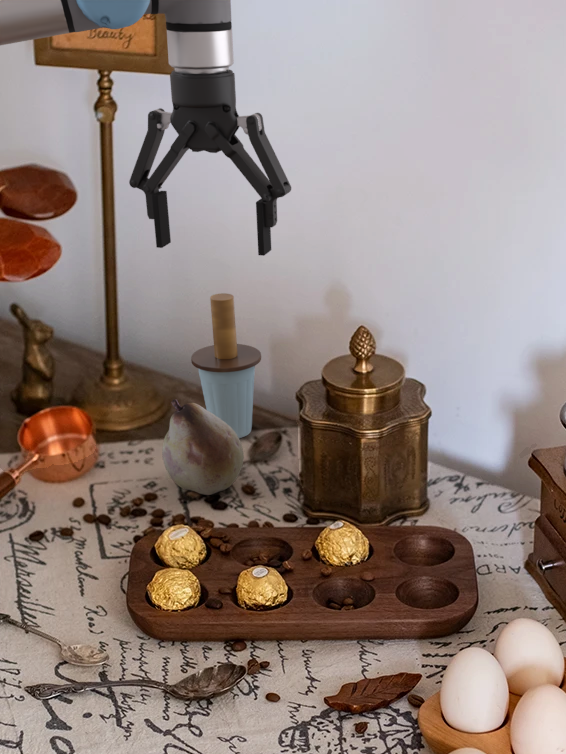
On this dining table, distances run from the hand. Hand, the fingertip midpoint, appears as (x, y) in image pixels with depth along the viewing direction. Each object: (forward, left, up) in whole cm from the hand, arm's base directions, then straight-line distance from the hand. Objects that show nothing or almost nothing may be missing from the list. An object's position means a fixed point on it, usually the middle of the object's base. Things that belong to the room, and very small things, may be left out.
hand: (213, 249), depth 139 cm
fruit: (+3, -16, -26) cm, 30 cm away
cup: (0, 0, -26) cm, 26 cm away
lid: (+1, 0, -15) cm, 15 cm away
